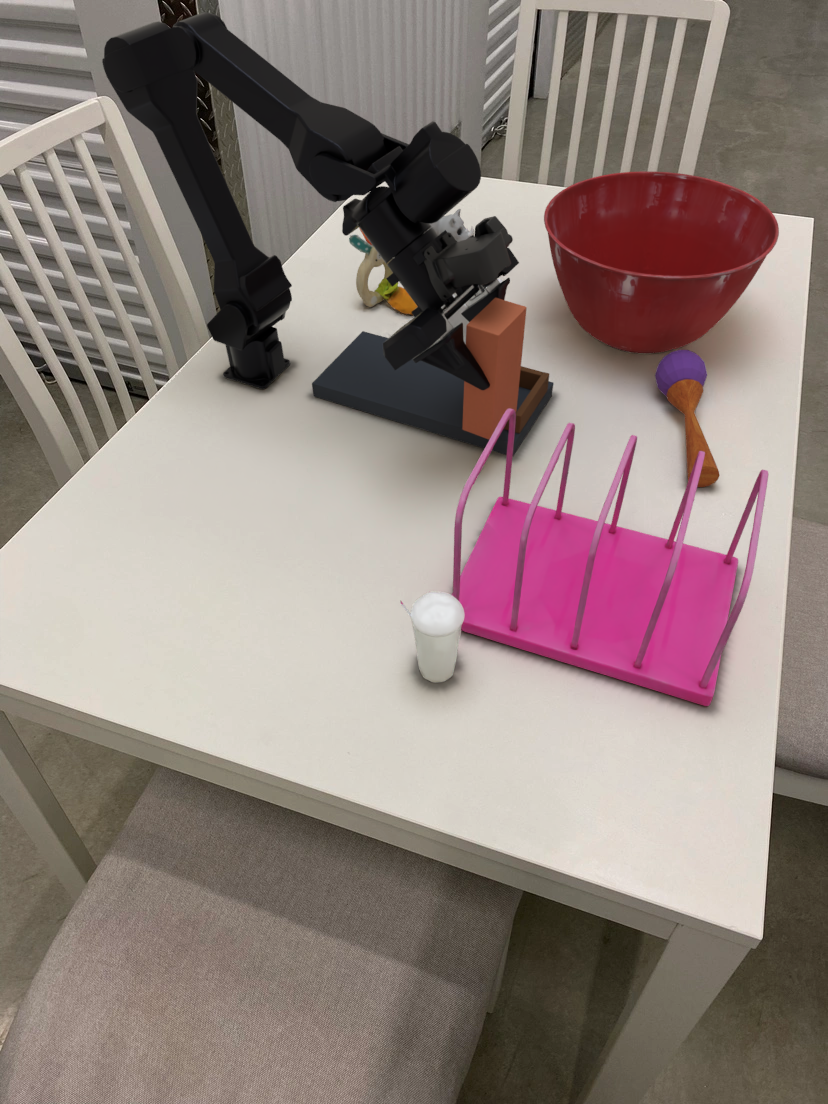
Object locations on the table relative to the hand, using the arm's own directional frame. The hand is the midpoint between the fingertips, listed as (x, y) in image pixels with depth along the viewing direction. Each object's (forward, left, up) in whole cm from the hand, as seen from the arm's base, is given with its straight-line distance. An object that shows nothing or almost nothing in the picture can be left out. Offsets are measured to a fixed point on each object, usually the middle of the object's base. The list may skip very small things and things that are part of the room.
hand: (501, 372), depth 85 cm
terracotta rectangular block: (-1, 0, -7) cm, 7 cm away
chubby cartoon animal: (-27, +40, -12) cm, 50 cm away
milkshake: (+6, -29, -12) cm, 32 cm away
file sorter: (+16, -14, -12) cm, 25 cm away
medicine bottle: (-13, +22, -12) cm, 28 cm away
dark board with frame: (-12, +8, -12) cm, 19 cm away
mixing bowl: (+7, +35, -12) cm, 37 cm away
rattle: (-27, +24, -12) cm, 38 cm away
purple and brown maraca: (+18, +15, -12) cm, 27 cm away
